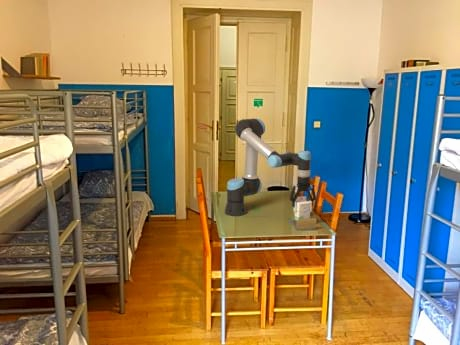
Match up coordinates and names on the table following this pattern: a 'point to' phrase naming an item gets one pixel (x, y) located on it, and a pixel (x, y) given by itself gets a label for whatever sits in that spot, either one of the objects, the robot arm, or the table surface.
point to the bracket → (304, 224)
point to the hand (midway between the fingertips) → (302, 211)
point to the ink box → (302, 208)
